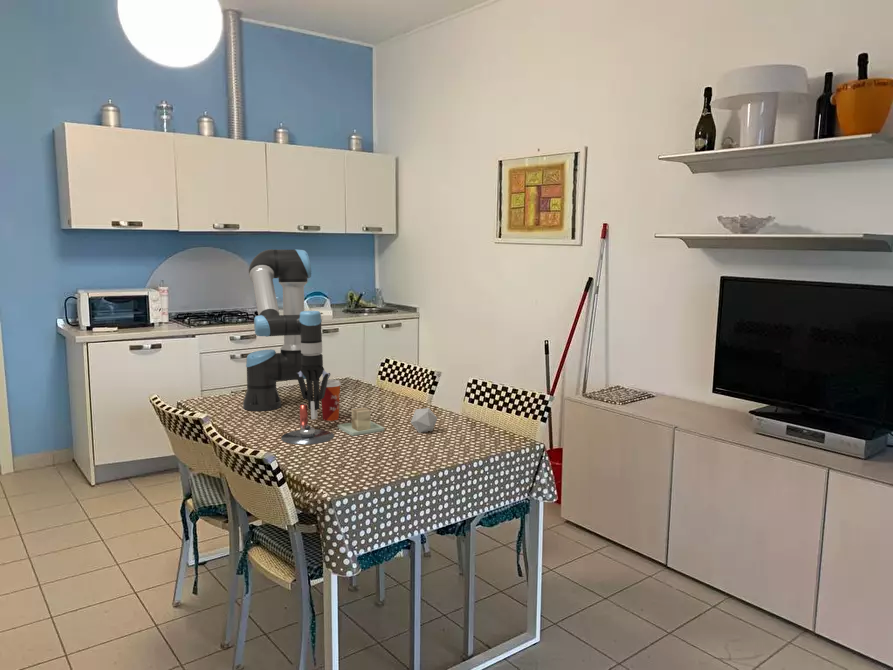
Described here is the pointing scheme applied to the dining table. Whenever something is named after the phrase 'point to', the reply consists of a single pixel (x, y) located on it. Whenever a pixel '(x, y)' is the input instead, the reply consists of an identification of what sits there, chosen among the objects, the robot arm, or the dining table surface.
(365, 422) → the block
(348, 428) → the tray
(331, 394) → the coffee cup
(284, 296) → the robot arm
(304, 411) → the crank
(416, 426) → the die
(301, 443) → the base plate
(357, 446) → the dining table surface
